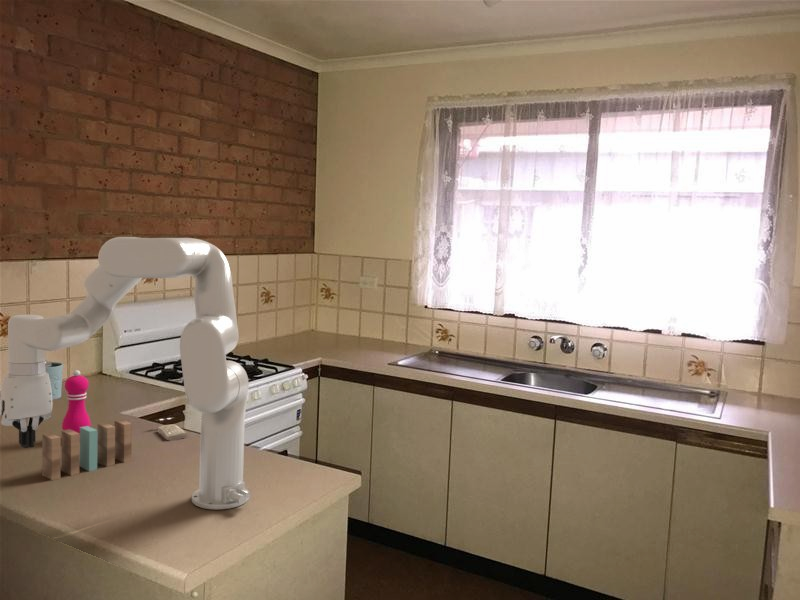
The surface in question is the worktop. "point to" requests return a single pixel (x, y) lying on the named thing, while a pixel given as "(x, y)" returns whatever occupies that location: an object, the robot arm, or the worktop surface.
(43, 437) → the domino
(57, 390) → the light blue cup
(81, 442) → the domino
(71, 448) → the domino
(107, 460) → the domino
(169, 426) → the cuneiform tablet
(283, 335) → the worktop surface
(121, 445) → the domino
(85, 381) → the pepper mill
